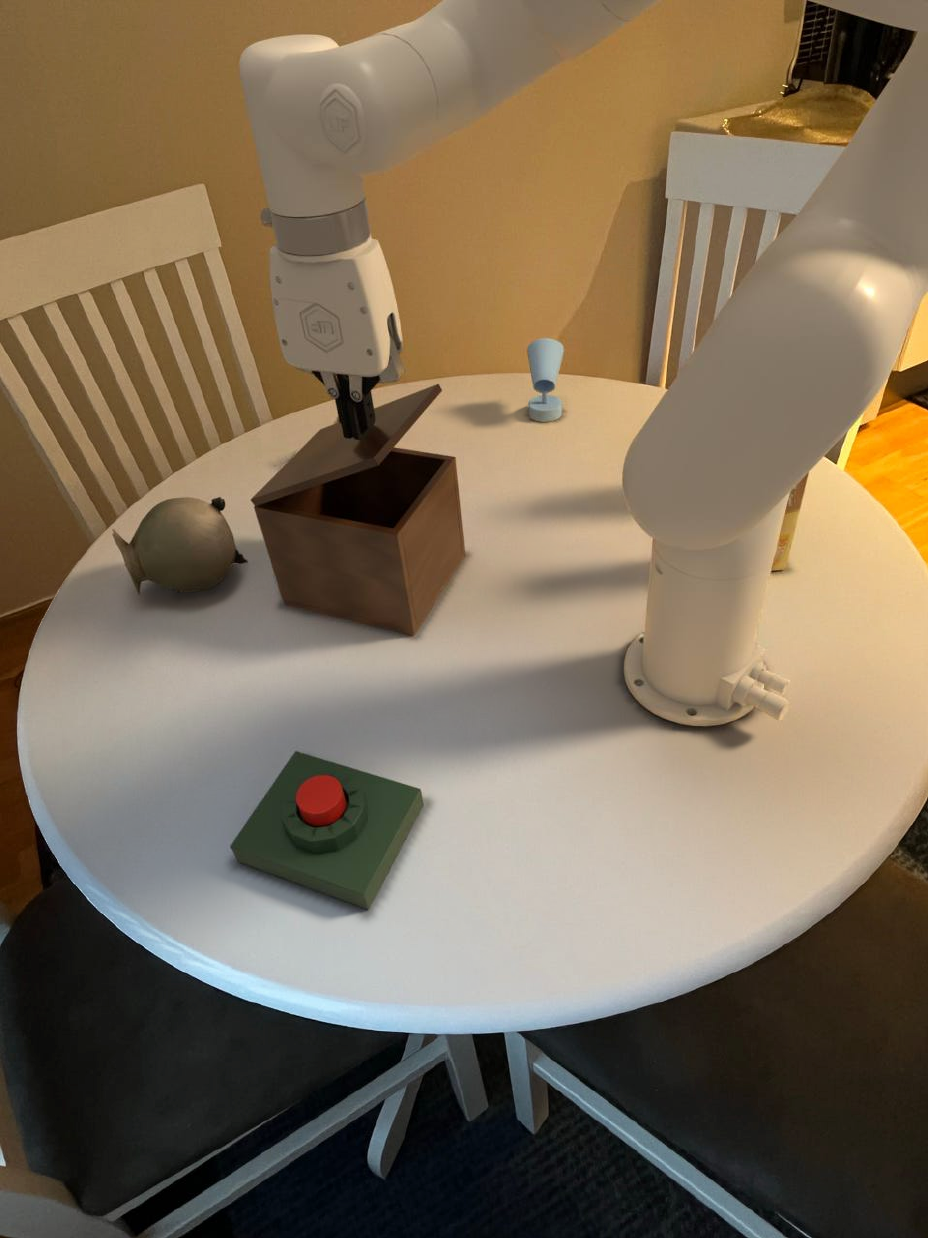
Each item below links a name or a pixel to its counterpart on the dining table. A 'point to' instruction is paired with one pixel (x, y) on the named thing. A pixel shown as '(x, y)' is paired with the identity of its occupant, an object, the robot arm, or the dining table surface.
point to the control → (330, 831)
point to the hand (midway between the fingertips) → (359, 431)
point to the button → (321, 800)
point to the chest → (369, 541)
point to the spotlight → (545, 378)
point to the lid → (347, 448)
